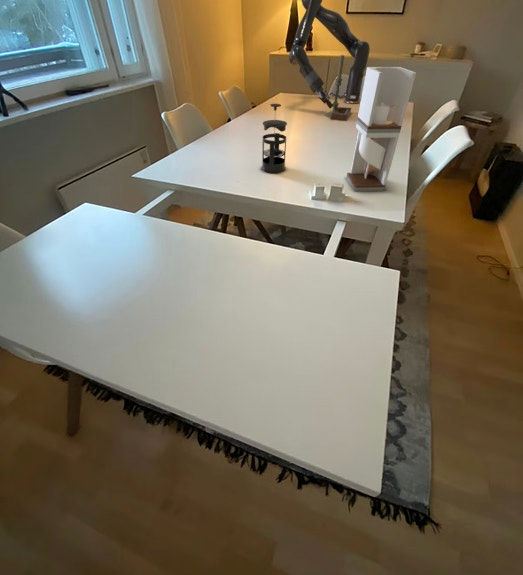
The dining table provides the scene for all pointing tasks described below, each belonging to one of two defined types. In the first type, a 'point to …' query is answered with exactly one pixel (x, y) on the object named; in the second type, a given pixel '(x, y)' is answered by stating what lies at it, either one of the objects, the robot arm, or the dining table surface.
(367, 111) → the white architectural model
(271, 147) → the french press
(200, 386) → the dining table surface
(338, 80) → the candlestick holder
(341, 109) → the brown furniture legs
